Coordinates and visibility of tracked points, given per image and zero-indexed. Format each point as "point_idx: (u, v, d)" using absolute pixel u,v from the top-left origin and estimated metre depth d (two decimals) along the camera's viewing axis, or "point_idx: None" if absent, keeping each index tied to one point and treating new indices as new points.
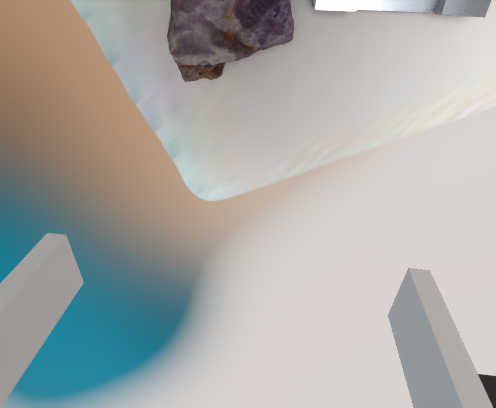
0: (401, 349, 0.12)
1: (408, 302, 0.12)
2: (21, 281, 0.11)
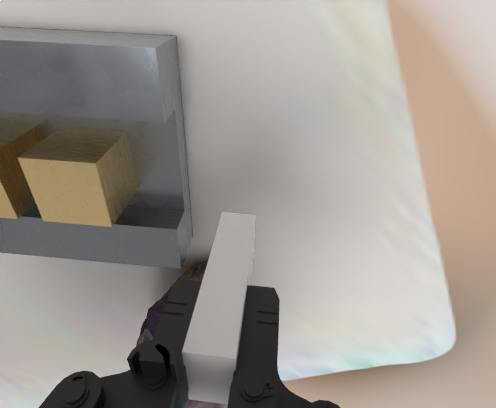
0: None
1: None
2: (226, 250, 0.12)
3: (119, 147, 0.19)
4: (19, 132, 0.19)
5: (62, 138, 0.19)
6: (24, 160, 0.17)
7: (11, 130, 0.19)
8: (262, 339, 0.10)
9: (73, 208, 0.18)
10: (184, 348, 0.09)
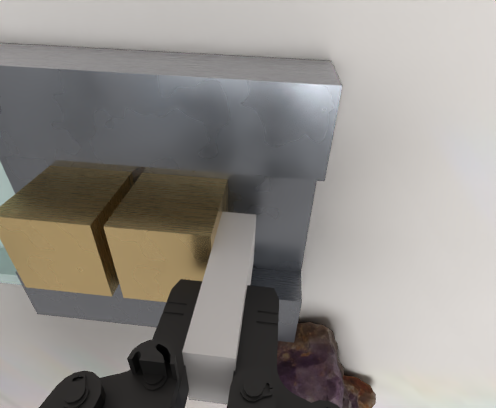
0: None
1: None
2: (226, 250, 0.12)
3: (223, 203, 0.14)
4: (114, 184, 0.15)
5: (150, 191, 0.14)
6: (112, 229, 0.12)
7: (103, 180, 0.15)
8: (262, 339, 0.10)
9: (167, 285, 0.14)
10: (184, 348, 0.09)
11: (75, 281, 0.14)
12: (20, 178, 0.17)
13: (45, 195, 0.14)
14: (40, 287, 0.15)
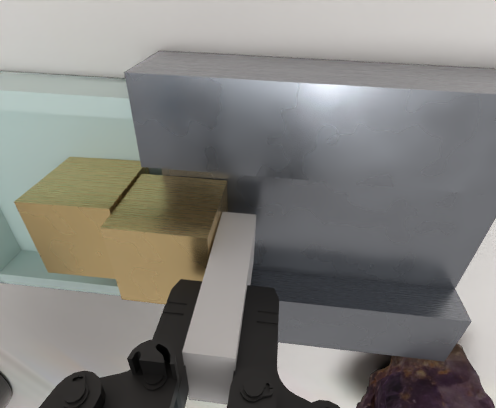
0: None
1: None
2: (226, 250, 0.12)
3: (222, 204, 0.14)
4: (130, 172, 0.15)
5: (149, 193, 0.14)
6: (109, 231, 0.12)
7: (120, 169, 0.16)
8: (262, 339, 0.10)
9: (165, 287, 0.14)
10: (184, 348, 0.09)
11: (95, 265, 0.15)
12: None
13: (66, 183, 0.14)
14: (62, 272, 0.15)
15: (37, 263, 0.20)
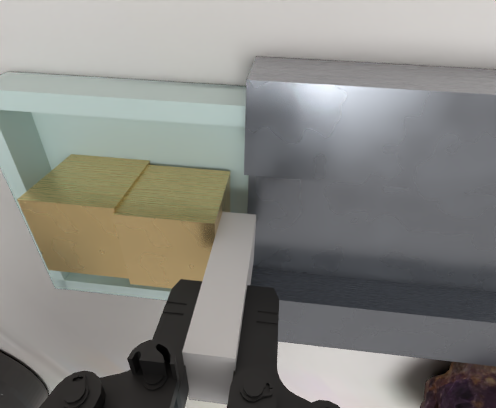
0: None
1: None
2: (226, 250, 0.12)
3: (226, 193, 0.15)
4: (134, 171, 0.15)
5: (156, 182, 0.15)
6: (120, 217, 0.13)
7: (123, 168, 0.16)
8: (262, 339, 0.10)
9: (172, 271, 0.14)
10: (184, 348, 0.09)
11: (96, 264, 0.15)
12: (261, 199, 0.16)
13: (69, 181, 0.14)
14: (62, 270, 0.15)
15: None
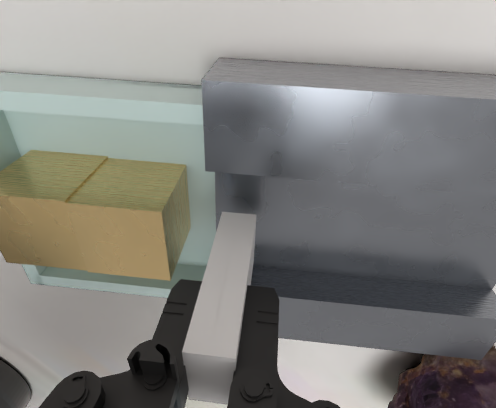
0: None
1: None
2: (226, 250, 0.12)
3: (179, 185, 0.16)
4: (90, 166, 0.16)
5: (112, 174, 0.16)
6: (72, 206, 0.14)
7: (80, 163, 0.16)
8: (262, 339, 0.10)
9: (126, 259, 0.15)
10: (184, 348, 0.09)
11: (52, 255, 0.15)
12: (228, 195, 0.16)
13: (24, 175, 0.15)
14: (20, 262, 0.16)
15: None
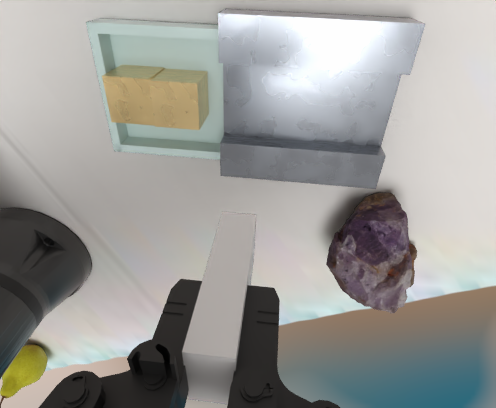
0: None
1: None
2: (226, 250, 0.12)
3: (204, 80, 0.29)
4: (156, 70, 0.30)
5: (169, 73, 0.29)
6: (153, 82, 0.27)
7: (150, 69, 0.30)
8: (262, 339, 0.10)
9: (176, 116, 0.29)
10: (184, 348, 0.09)
11: (137, 116, 0.29)
12: (230, 86, 0.30)
13: (124, 72, 0.29)
14: (119, 121, 0.30)
15: (140, 141, 0.34)
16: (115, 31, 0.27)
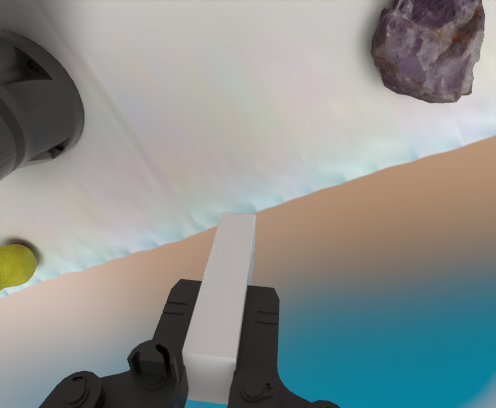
0: None
1: None
2: (226, 250, 0.12)
3: None
4: None
5: None
6: None
7: None
8: (262, 339, 0.10)
9: None
10: (184, 348, 0.09)
11: None
12: None
13: None
14: None
15: None
16: None
